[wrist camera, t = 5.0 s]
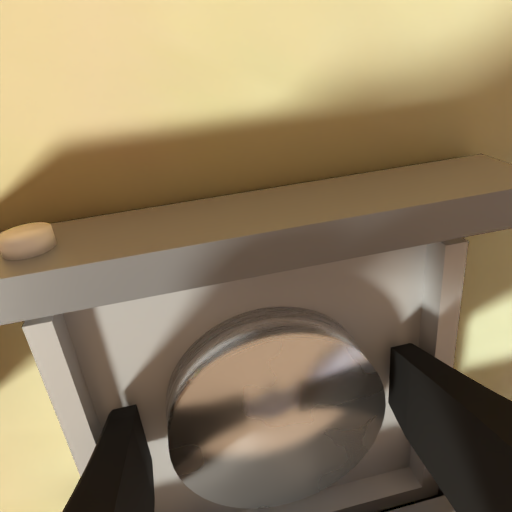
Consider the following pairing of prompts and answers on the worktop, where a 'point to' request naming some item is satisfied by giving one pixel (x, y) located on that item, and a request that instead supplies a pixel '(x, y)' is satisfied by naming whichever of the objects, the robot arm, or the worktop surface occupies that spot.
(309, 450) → the disc
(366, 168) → the worktop surface
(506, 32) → the worktop surface
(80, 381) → the tray
